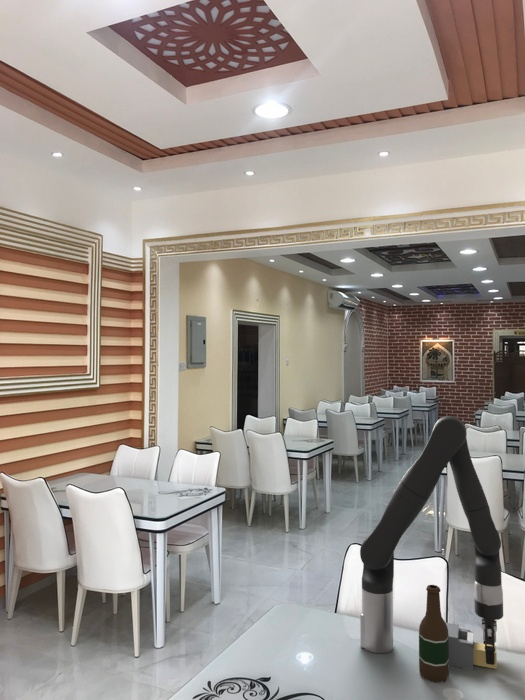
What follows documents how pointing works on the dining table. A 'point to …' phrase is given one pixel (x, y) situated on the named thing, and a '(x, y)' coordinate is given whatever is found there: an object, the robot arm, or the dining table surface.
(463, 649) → the dispenser
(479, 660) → the yellow rectangular block
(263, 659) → the dining table surface
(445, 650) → the beer bottle
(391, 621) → the robot arm
